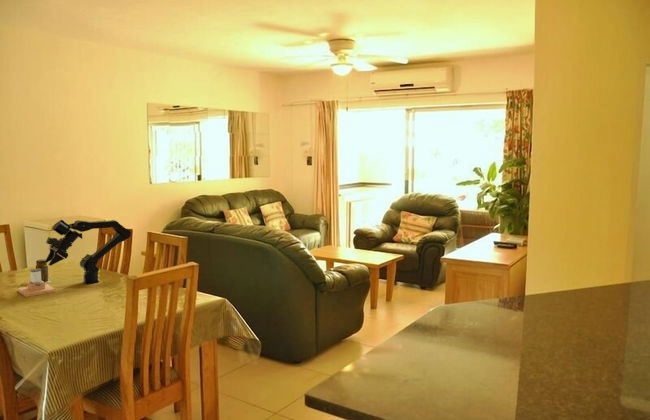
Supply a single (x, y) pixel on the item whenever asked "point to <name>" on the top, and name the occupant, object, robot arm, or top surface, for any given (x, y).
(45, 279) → the condiment
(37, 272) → the column
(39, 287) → the stand
